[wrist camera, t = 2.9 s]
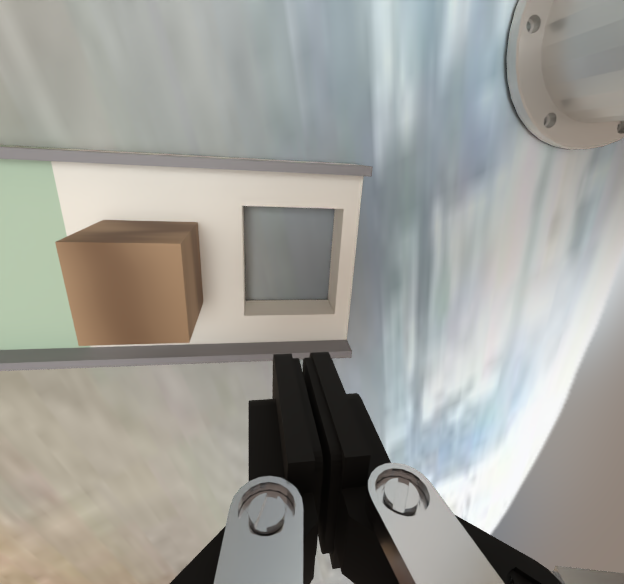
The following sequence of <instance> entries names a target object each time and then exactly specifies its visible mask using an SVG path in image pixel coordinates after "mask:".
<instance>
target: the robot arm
mask: <svg viewBox="0 0 624 584" xmlns="http://www.w3.org/2000/svg"><path fill="white" fill-rule="evenodd" d="M507 80H508V85H509V90H510V94H511V99H512V102H513V104H514V106H515V109H516V111H517V113H518V116H519V117H520V119H521V120H522V122H523V123H524V124H525V126H526V127H527V129H528V130H529V131H530V132H532V133H533V134H534V135H535V136H536V137H537V138H539V139H540V140H541V141H544V142H546V143H548V144H550V145H552V146H555V147H560V148H565V149H590V148H596V147H602V146H605V145H608V144H610V143H613V142H616V141H618V140H620V139H622V138H624V0H519V2H518V4H517V7H516V9H515V13H514V17H513V21H512V25H511V29H510V32H509V40H508V49H507ZM317 537H319V542H320V548H321V552H322V554H326V553H329V554H330V559H331V564H332V569H336V568H341V572H342V574H343V575H344V576H346V577H347V578H348V579H350V580H351V581H352V582H353V583H354V584H624V573H615V572H607V571H598V570H597V571H596V570H589V569H579V568H571V567H561V566H555V568H554V570H553V571H549V570H548V569H547V568H545V567H544V566H542V565H541V564H539V563H538V562H537V561H535V560H533V559H532V558H530V557H528V556H526V555H525V554H523V553H521V552H519V551H517V550H516V549H514V548H512V547H510V546H509V545H507V544H505V543H503V542H502V541H500V540H498V539H496V538H495V537H493V536H491V535H489V534H488V533H486V532H484V531H482V530H481V529H479V528H477V527H475V526H473V525H472V524H470V523H468V522H466V521H465V520H463V519H461V518H459V517H458V516H456V515H454V514H453V512H452V511H451V510H450V508H449V507H448V505H447V504H446V503H445V501H444V500H443V499H442V497H441V496H440V495H439V493H438V492H437V490H436V489H435V488H434V486H433V485H432V484H431V482H430V481H429V480H428V479H427V478H426V477H425V476H424V475H423V474H422V473H420V472H419V471H417V470H416V469H414V468H412V467H410V466H407V465H405V464H399V463H391V462H390V460H389V458H388V455H387V453H386V451H385V449H384V447H383V445H382V442H381V440H380V438H379V436H378V434H377V432H376V429H375V427H374V425H373V423H372V421H371V419H370V416H369V414H368V412H367V410H366V408H365V406H364V404H363V401H362V399H361V397H360V396H359V394H357V393H355V394H346V393H345V390H344V388H343V385H342V383H341V381H340V378H339V376H338V373H337V371H336V368H335V366H334V363H333V361H332V358H331V356H330V354H329V352H313V353H310V356H309V357H308V358H304V359H303V372H302V368H301V364H300V360H299V358H293V357H292V354H273V399H267V400H252V401H249V482H248V483H246V484H245V485H244V486H242V487H241V488H240V489H239V490H238V492H237V493H236V494H235V496H234V498H233V500H232V503H231V505H230V509H229V514H228V518H227V523H226V526H225V527H224V528H223V529H222V530H221V531H220V532H219V533H218V535H217V536H216V537H215V538H214V539H213V540H212V541H211V542H210V543H209V544H208V545H207V546H206V547H205V548H204V549H203V550H202V551H201V552H200V553H199V554H198V555H197V556H196V557H195V558H194V559H193V560H192V561H191V562H190V563H189V564H188V565H187V566H186V567H185V568H184V569H183V570H182V571H181V572H180V573H179V574H178V576H177V577H176V578H175V579H174V580H173V581H172V582H171V583H170V584H310V583H311V581H312V579H313V577H314V565H315V555H316V549H317Z"/></svg>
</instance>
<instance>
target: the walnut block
mask: <svg viewBox="0 0 624 584" xmlns="http://www.w3.org/2000/svg"><path fill="white" fill-rule="evenodd" d="M55 244H56V248H57V253H58V257H59V262H60V266H61V270H62V275H63V279H64V284H65V288H66V292H67V297H68V301H69V306H70V310H71V314H72V319H73V323H74V328H75V332H76V336H77V341H78V345H79V346H97V345H132V344H166V343H190V340H191V337H192V334H193V331H194V328H195V325H196V322H197V319H198V316H199V314H200V311H201V308H202V305H203V289H202V275H201V260H200V246H199V231H198V222H172V221H130V220H102V221H100V222H97V223H95V224H93V225H91V226H89V227H87V228H84V229H82V230H80V231H78V232H76V233H73V234H71V235H69V236H67V237H65V238H63V239H60V240H58V241H56V242H55Z"/></svg>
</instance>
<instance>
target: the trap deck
mask: <svg viewBox="0 0 624 584" xmlns="http://www.w3.org/2000/svg"><path fill="white" fill-rule="evenodd" d="M371 175H372V167H371V166H364V165H357V164H343V163H325V162H306V161H287V160H268V159H250V158H231V157H212V156H193V155H175V154H156V153H137V152H118V151H100V150H81V149H62V148H44V147H25V146H6V145H0V371H12V370H38V369H64V368H90V367H117V366H143V365H169V364H195V363H221V362H247V361H273V354H292V357H293V358H299V360H300V359H304V358H308V357H309V356H310V353H313V352H329V354H330V356H331V358H351V355H352V350H351V348H350V346H349V344H348V342H347V330H348V320H349V310H350V301H351V291H352V281H353V272H354V262H355V252H356V242H357V233H358V223H359V213H360V204H361V194H362V184H363V176H371ZM244 206H266V207H297V208H329V209H335V211H334V224H333V237H332V250H331V263H330V276H329V289H328V300H245V255H244ZM102 220H130V221H172V222H198V231H199V246H200V260H201V275H202V289H203V305H202V308H201V311H200V314H199V316H198V319H197V322H196V325H195V328H194V331H193V334H192V337H191V340H190V343H166V344H132V345H97V346H79V345H78V341H77V336H76V332H75V328H74V323H73V319H72V314H71V310H70V306H69V301H68V297H67V292H66V288H65V284H64V279H63V275H62V270H61V266H60V262H59V257H58V253H57V248H56V244H55V242H56V241H58V240H60V239H63V238H65V237H67V236H69V235H71V234H73V233H76V232H78V231H80V230H82V229H84V228H87V227H89V226H91V225H93V224H95V223H97V222H100V221H102Z"/></svg>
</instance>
